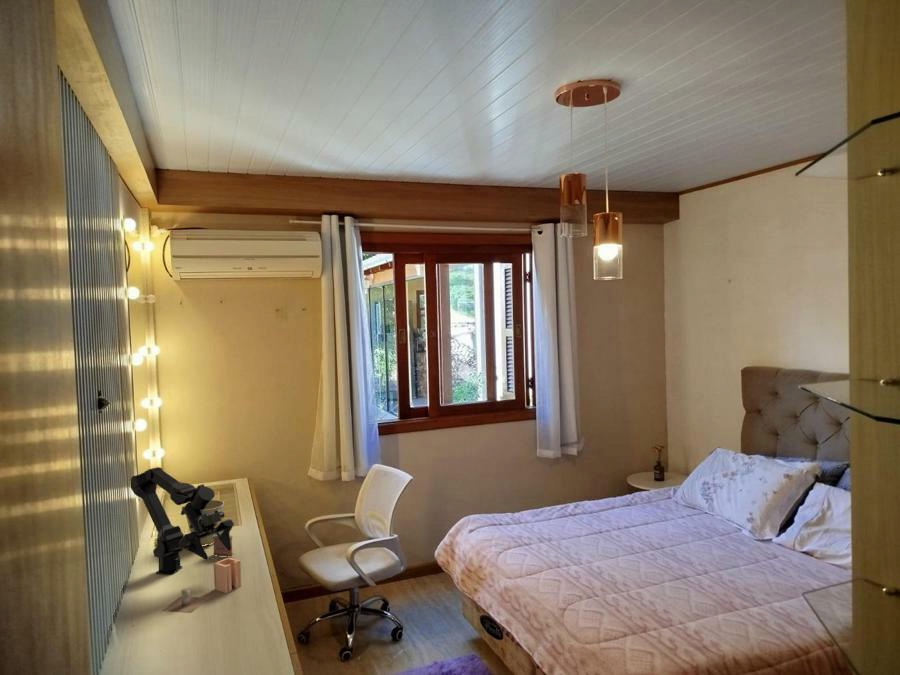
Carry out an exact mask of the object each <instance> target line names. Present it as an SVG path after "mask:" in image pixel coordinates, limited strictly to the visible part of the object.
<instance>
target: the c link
mask: <svg viewBox="0 0 900 675" xmlns="http://www.w3.org/2000/svg"><path fill="white" fill-rule="evenodd" d="M241 565H242V563H241V560H240V559H236V558H232V557H225V558H224V559H222V560H219V561H216V562H214V563H213V577H214V580H213V581H214V590H216V591H219V592H222V593H225V594H228V593H230V592H231V591H233V588H234V589H238V588H240V587H242V570H241V568H242V567H241ZM232 587H233V588H232Z"/></svg>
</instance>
